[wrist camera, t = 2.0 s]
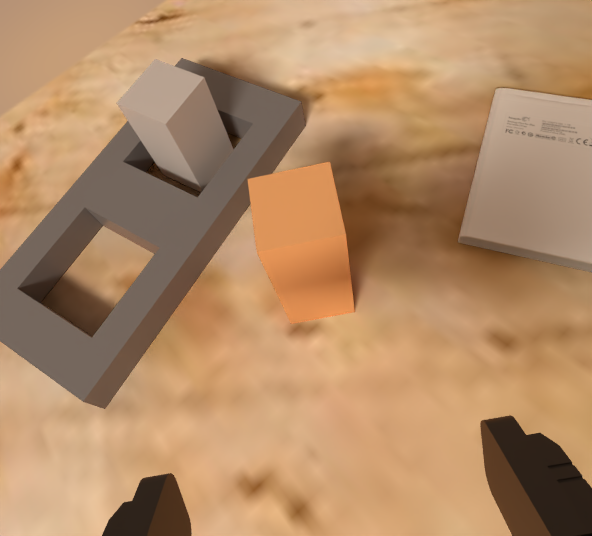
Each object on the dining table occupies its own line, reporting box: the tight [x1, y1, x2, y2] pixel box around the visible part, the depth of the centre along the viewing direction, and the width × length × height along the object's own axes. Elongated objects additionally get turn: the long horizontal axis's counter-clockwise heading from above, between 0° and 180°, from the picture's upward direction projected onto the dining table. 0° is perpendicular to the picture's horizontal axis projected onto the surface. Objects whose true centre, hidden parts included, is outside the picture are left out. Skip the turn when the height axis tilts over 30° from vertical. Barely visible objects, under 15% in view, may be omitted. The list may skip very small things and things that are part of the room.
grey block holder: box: [0, 58, 306, 409], centre depth 32 cm, size 24×11×8 cm, turn 149°
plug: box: [248, 162, 355, 324], centre depth 27 cm, size 4×4×10 cm
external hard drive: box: [458, 88, 592, 272], centre depth 33 cm, size 2×8×12 cm
